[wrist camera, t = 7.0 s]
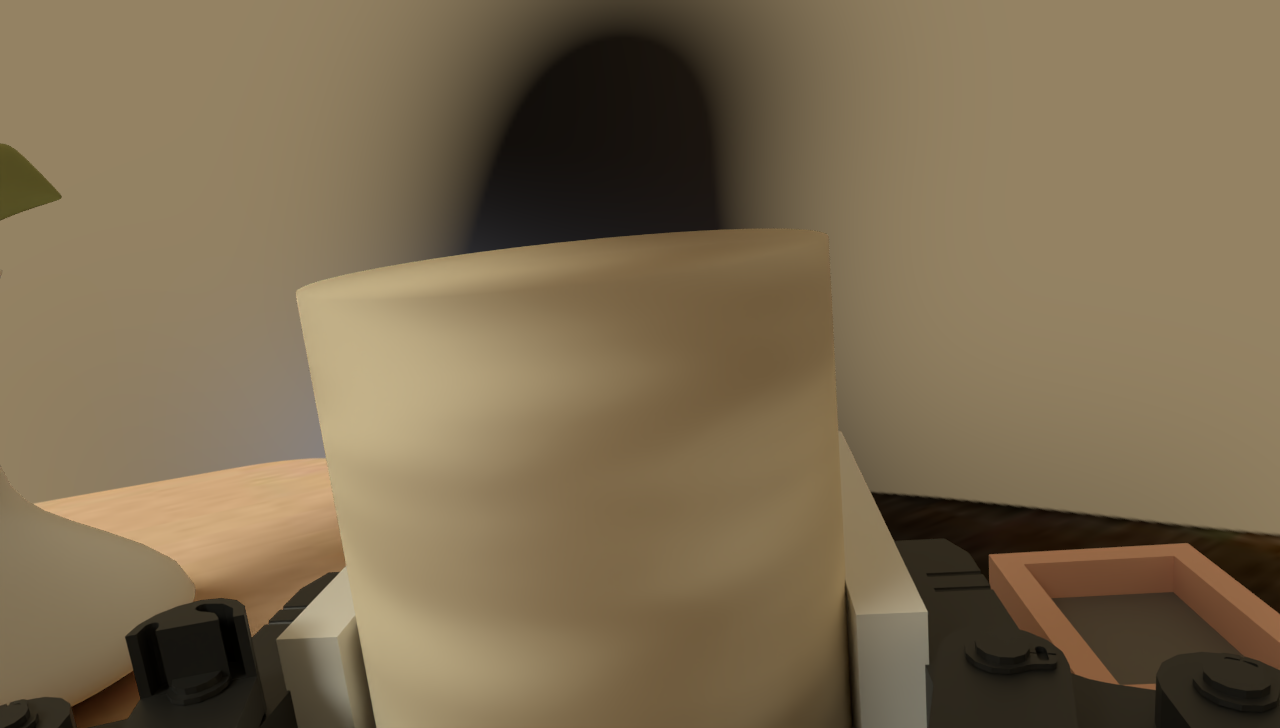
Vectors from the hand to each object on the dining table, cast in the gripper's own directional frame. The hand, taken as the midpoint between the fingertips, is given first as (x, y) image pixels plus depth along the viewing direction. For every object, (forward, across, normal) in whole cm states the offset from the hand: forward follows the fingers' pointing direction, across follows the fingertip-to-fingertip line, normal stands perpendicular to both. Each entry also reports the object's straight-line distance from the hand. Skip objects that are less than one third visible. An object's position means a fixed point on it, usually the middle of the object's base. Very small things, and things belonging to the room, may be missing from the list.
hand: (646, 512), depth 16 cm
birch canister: (-5, 0, -7) cm, 8 cm away
